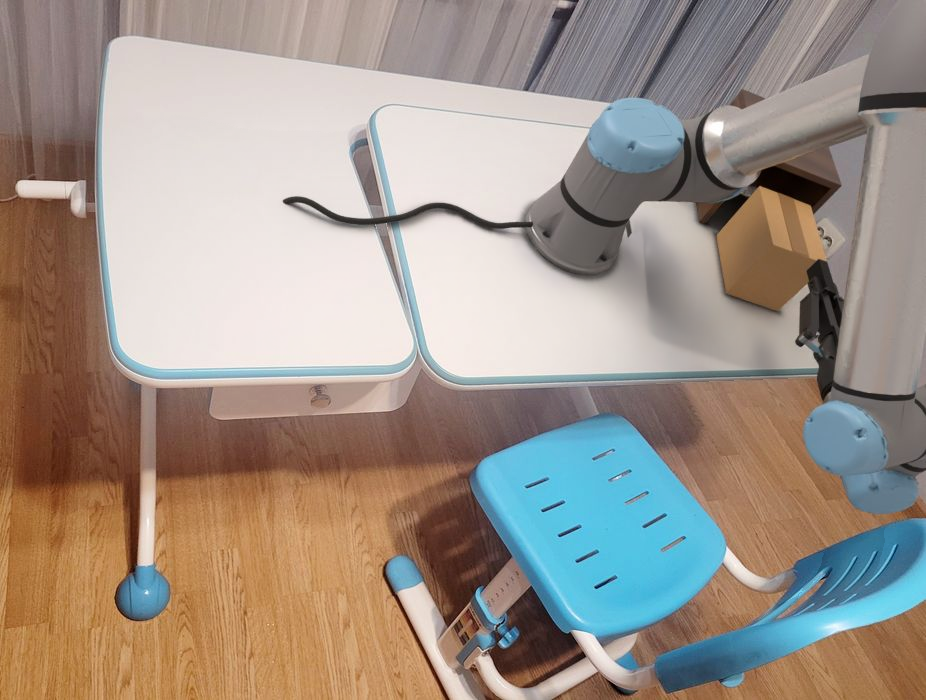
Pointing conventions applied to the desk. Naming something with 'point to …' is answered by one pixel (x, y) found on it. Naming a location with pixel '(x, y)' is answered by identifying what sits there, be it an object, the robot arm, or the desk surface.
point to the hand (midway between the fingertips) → (816, 266)
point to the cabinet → (789, 173)
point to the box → (769, 249)
